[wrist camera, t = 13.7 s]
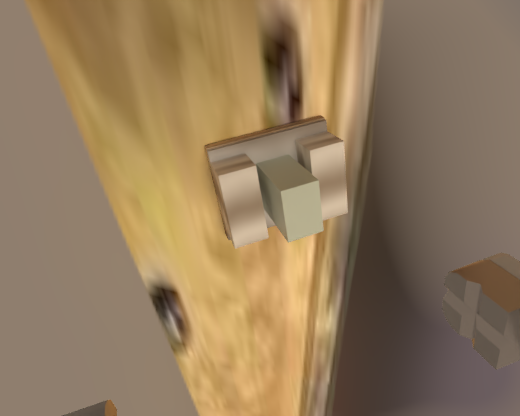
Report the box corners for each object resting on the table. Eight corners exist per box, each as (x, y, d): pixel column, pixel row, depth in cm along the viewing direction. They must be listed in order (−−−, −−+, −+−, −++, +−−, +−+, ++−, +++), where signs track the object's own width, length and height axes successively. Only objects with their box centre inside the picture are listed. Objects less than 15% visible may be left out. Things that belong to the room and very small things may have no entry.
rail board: (204, 145, 43) (215, 162, 38) (320, 115, 45) (343, 127, 41) (226, 235, 49) (237, 259, 44) (327, 203, 51) (348, 223, 47)
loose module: (255, 163, 44) (280, 191, 37) (288, 154, 45) (318, 180, 38) (264, 210, 47) (288, 244, 40) (294, 201, 48) (323, 232, 41)
